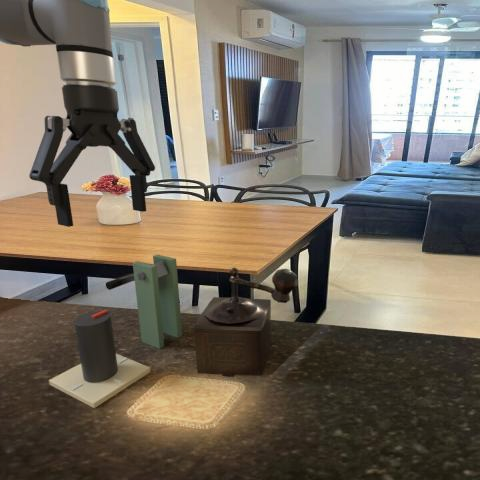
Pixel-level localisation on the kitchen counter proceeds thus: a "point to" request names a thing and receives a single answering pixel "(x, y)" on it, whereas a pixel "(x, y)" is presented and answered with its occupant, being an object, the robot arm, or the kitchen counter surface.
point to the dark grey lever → (130, 277)
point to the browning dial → (96, 346)
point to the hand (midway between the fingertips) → (106, 217)
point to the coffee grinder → (239, 328)
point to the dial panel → (99, 391)
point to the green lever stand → (157, 301)
